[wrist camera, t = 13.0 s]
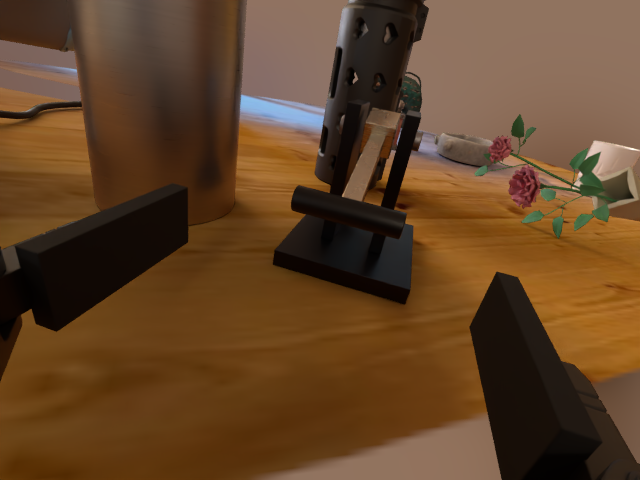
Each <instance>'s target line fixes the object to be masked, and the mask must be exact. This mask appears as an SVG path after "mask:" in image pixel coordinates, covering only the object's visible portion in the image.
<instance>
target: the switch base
mask: <svg viewBox="0 0 640 480" xmlns="http://www.w3.org/2000/svg"><path fill="white" fill-rule="evenodd" d="M369 105H370V102H367V101H363V100H355V101H351V102H348V103H347V107H346V112H345V115H343V117H342V119H341V122H340V127H339V133H340V134H341V138H340V143H339V148H338V153H337V158H336V163H335V168H334V173H333V178H332V183H331V188H330V193H331V194H335V195H339V196H342V195H343V193H344V191H345V189H346V186H347V184H348V182H349V180H350V178H351V175H352V173H353V171H354V169H355V167H356V163H357V158H358V154H359V149H360V145H361V140H362V136H363V130H364V125H365V121H366V118H367V114H368V109H369ZM420 119H421V113H420V112H415V111H410V110H408V112H407V114H406V116H405V120H404V124H403V127H402V131H401V135H400V138H399V142H398V145H397V149H396V153H395V156H394V160H393V164H392V167H391V171H390V174H389V178H388V182H387V185H386V189H385V193H384V196H383V200H382V203H381V207H385V208H389V209H393V210H394V208H395V204H396V201H397V198H398V194H399V191H400V187H401V184H402V181H403V177H404V174H405V171H406V167H407V164H408V160H409V157H410V154H411V150H412V151H418V149H419V146H420V143H421V140H422V136H423V132H420V131H417V130H418V127H419V123H420ZM412 245H413V226H412V225H409V224H405V225H404V228H403V231H402V234H401V237H400V239H395V238H391V237H387V236H384V235H380V234H376V233H373V232H369V231H365V230H362V229H358V228H354V227H351V226H347V225H343V224H340V223H336V222H332V221H328V220H325V219H321V218H317V217H314V216H310V215H305V216H304V217H303V218H302V220H301V221H300V222H299V223H298V224H297V225H296V226H295V228H294V229H293V230H292V231H291V232H290V233H289V234H288V235H287V237H286V238H285V239H284V240H283V241H282V242H281V243H280V245H279V246H278V247H277V248H276V249H275V252H274V260H273V265H276V266H279V267H283V268H286V269H289V270H293V271H296V272H299V273H303V274H306V275H309V276H312V277H316V278H319V279H322V280H326V281H329V282H332V283H336V284H339V285H342V286H346V287H349V288H352V289H355V290H359V291H362V292H365V293H369V294H372V295H375V296H379V297H382V298H385V299H389V300H392V301H395V302H399V303H402V304H405V303H406V301H407V298H408V295H409V292H410V288H411V266H412Z"/></svg>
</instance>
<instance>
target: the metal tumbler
mask: <svg viewBox="0 0 640 480" xmlns="http://www.w3.org/2000/svg"><path fill="white" fill-rule="evenodd" d="M67 2H68V9H69V16H70V24H71V31H72V38H73V45H74V52H75V59H76V66H77V74H78V81H79V88H80V95H81V102H82V109H83V116H84V123H85V131H86V138H87V145H88V152H89V159H90V166H91V173H92V181H93V188H94V195H95V201H96V204H97V206H98V207H99V208H100V209H101V210H102V211H104V210H106V209H109V208H111V207H114V206H116V205H119V204H121V203H124V202H126V201H129V200H131V199H134V198H136V197H139V196H141V195H144V194H146V193H149V192H151V191H154V190H156V189H159V188H161V187H164V186H166V185H169V184H172V183H174V184H178V185H181V186H185V187H188V225H193V224H200V223H204V222H209V221H212V220H215V219H218V218H220V217H222V216H224V215H226V214H227V213H228V212H230V211H231V209H232V208H233V206H234V200H235V184H236V167H237V151H238V135H239V118H240V102H241V85H242V70H243V53H244V37H245V21H246V5H247V0H67Z"/></svg>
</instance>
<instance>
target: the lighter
mask: <svg viewBox="0 0 640 480" xmlns="http://www.w3.org/2000/svg"><path fill="white" fill-rule="evenodd" d="M404 105H405V104H404V102H403V101H402V100H400V104H399V108H398V112H397V113H401V116H400V120H399V124H398V128H397V132H396V136H395V140H394V143H393V146H392V150H396V147H397V144H396V143H397V140H398V136H399V132H400V129H401V125H402V121H403V119H404V117H405V114H404V113H402V112H401V111H402V109H404Z"/></svg>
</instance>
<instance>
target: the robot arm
mask: <svg viewBox="0 0 640 480" xmlns="http://www.w3.org/2000/svg"><path fill="white" fill-rule="evenodd" d="M0 40H5V41H10V42H16V43H22V44H27V45H33V46H39V47H45V48H50V49H56V50H60V51H63V52H67V51H69V50H70V51H74V45H73V38H72V31H71V24H70V16H69V9H68V2H67V0H0ZM68 107H82V102H81V101H76V102H52V103H44V104H39V105H36V106H34V107H33V108H31V109H30V110H28V111H24V112H10V111H1V110H0V118H11V119H26V118H31V117H33V116H35V115H36V114H37V113H38V112H40V111H43V110H47V109H55V108H68ZM186 243H188V187H185V186H181V185H178V184H174V183H172V184H169V185H166V186H164V187H161V188H159V189H156V190H154V191H151V192H149V193H146V194H144V195H141V196H139V197H136V198H134V199H131V200H129V201H126V202H124V203H121V204H119V205H116V206H114V207H111V208H109V209H106V210H104V211H101V212H99V213H96V214H94V215H91V216H88V217H86V218H83V219H81V220H78V221H74V222H70V223H68V224H65V225H63V226H60V227H58V228H57V229H53V230H50V231H48V232H45V234H40V235H37V236H35V237H32V238H30V239H27V240H25V241H22V242H20V243H17V244H15V245H12V246H10V247H7V248H4V249H2V250H1V247H0V381H1V378H2V376H3V373H4V371H5V368H6V366H7V363H8V360H9V358H10V355H11V353H12V350H13V348H14V345H15V342H16V340H17V337H18V335H19V332H20V330H21V327H22V318H21V314H23V313H25V312H26V311H28V310H30V309H32V312H33V315H34V319H35V323H36V324H37V325H40V326H43V327H45V328H48V329H51V330H53V331H56V332H57V331H58V330H60V329H61V328H63V327H64V326H66V325H67V324H69V323H70V322H72V321H73V320H75V319H76V318H77V317H79V316H80V315H82V314H83V313H85V312H86V311H88V310H89V309H91V308H92V307H94V306H95V305H97V304H98V303H100V302H101V301H102V300H104V299H105V298H107V297H108V296H110V295H111V294H113V293H114V292H116V291H117V290H119V289H120V288H122V287H123V286H124V285H126V284H127V283H129V282H130V281H132V280H133V279H135V278H136V277H138V276H139V275H141V274H142V273H144V272H145V271H147V270H148V269H149V268H151V267H152V266H154V265H155V264H157V263H158V262H160V261H161V260H163V259H164V258H166V257H167V256H169V255H170V254H171V253H173V252H174V251H176V250H177V249H179V248H180V247H182V246H183V245H185V244H186ZM470 331H471V336H472V341H473V346H474V350H475V355H476V360H477V365H478V369H479V374H480V379H481V384H482V388H483V393H484V398H485V402H486V407H487V412H488V417H489V421H490V426H491V431H492V435H493V440H494V444H495V450H496V455H497V459H498V464H499V468H500V474H501V478H502V480H640V464H638V463H637V462H636V460H635V458H634V457H633V455H632V453H631V452H630V450H629V448H628V446H627V445H626V443H625V441H624V440H623V438H622V436H621V434H620V433H619V431H618V429H617V427H616V426H615V424H614V422H613V421H612V419H611V417H610V415H609V414H607V413H606V411H607V410H606V408H605V407H604V405H603V403H602V401H601V400H599V399H598V398H599V396H598V395H597V393H596V391H595V389H594V388H593V386H592V384H591V382H590V381H589V380H588V379H587V378H586V377H585V376H584V375H583V374H582V373H581V372H580V370H579V369H578V368H577V367H576V366H575V365H573V364H569V363H566V362H563V361H561V360H560V358H559V356H558V354H557V352H556V350H555V348H554V346H553V344H552V343H551V341H550V339H549V337H548V335H547V333H546V331H545V329H544V327H543V325H542V323H541V321H540V319H539V317H538V315H537V314H536V312H535V310H534V308H533V306H532V304H531V302H530V300H529V298H528V296H527V294H526V292H525V290H524V288H523V286H522V284H521V283H520V281H519V279H518V277H515V276H511V275H507V274H504V273H500V272H496V274H495V276H494V278H493V280H492V282H491V284H490V286H489V288H488V290H487V292H486V294H485V296H484V298H483V300H482V302H481V305H480V307H479V309H478V311H477V313H476V315H475V317H474V319H473V321H472V323H471V325H470Z"/></svg>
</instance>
